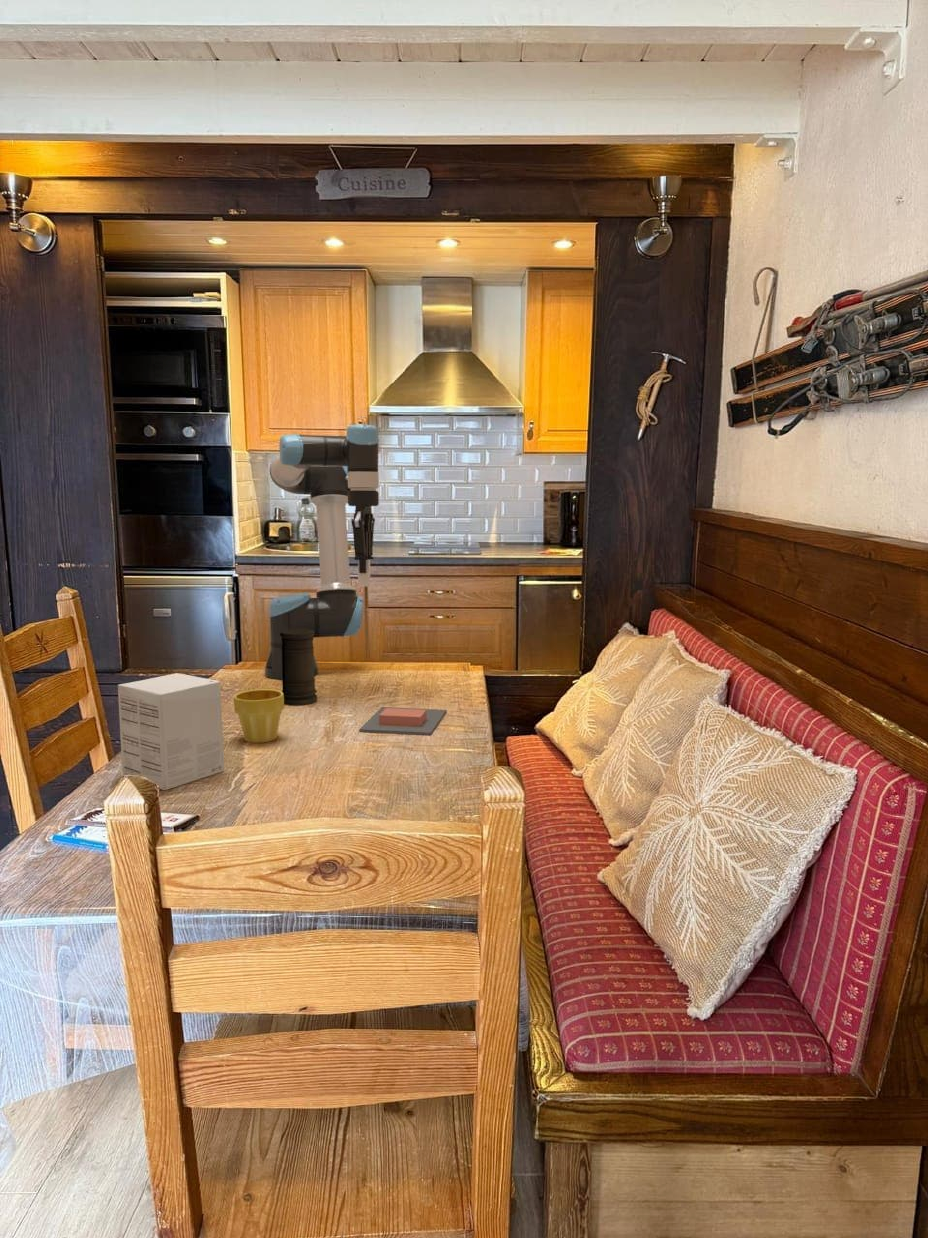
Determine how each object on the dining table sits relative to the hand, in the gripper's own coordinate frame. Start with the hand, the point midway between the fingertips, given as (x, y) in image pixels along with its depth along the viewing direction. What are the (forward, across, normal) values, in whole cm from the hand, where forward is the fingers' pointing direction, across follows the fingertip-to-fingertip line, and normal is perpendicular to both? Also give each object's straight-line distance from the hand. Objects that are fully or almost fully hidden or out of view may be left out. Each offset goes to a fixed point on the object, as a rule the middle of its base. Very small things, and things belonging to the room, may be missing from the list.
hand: (364, 585), depth 207 cm
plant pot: (+30, +36, -13) cm, 48 cm away
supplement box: (+30, +60, -20) cm, 70 cm away
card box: (+28, +16, +14) cm, 35 cm away
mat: (+29, +17, +14) cm, 37 cm away
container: (+30, +3, -17) cm, 34 cm away
